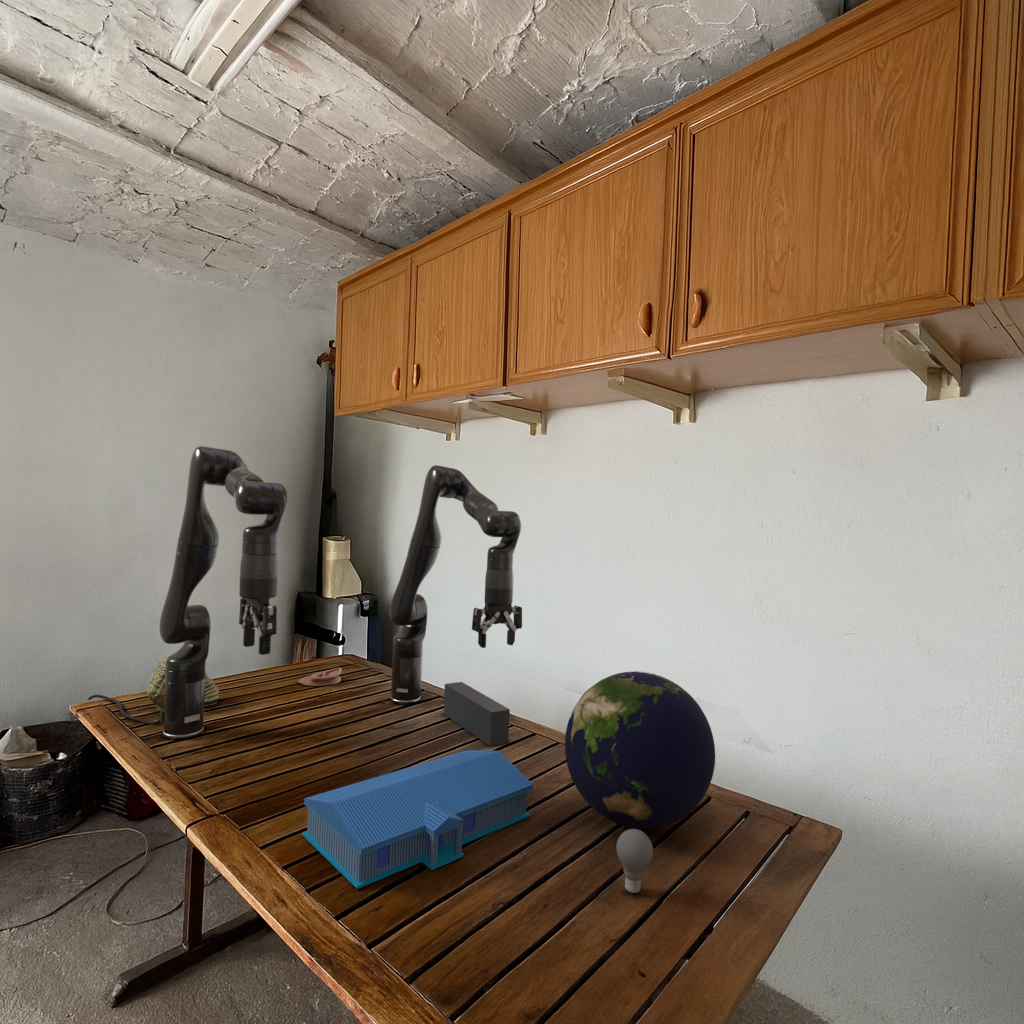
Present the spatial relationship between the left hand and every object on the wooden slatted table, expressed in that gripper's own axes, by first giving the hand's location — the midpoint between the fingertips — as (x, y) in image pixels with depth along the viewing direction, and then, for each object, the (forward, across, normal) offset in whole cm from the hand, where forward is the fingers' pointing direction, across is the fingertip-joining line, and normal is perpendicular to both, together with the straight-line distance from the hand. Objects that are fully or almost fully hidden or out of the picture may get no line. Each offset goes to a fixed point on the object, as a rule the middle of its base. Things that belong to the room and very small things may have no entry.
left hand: (256, 650), depth 136 cm
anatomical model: (+30, +63, -47) cm, 84 cm away
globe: (+30, -61, -54) cm, 87 cm away
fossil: (+30, +62, -4) cm, 69 cm away
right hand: (+4, -11, -60) cm, 61 cm away
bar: (+30, -1, -62) cm, 69 cm away
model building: (+30, -37, -19) cm, 51 cm away
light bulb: (+30, -75, -34) cm, 88 cm away
